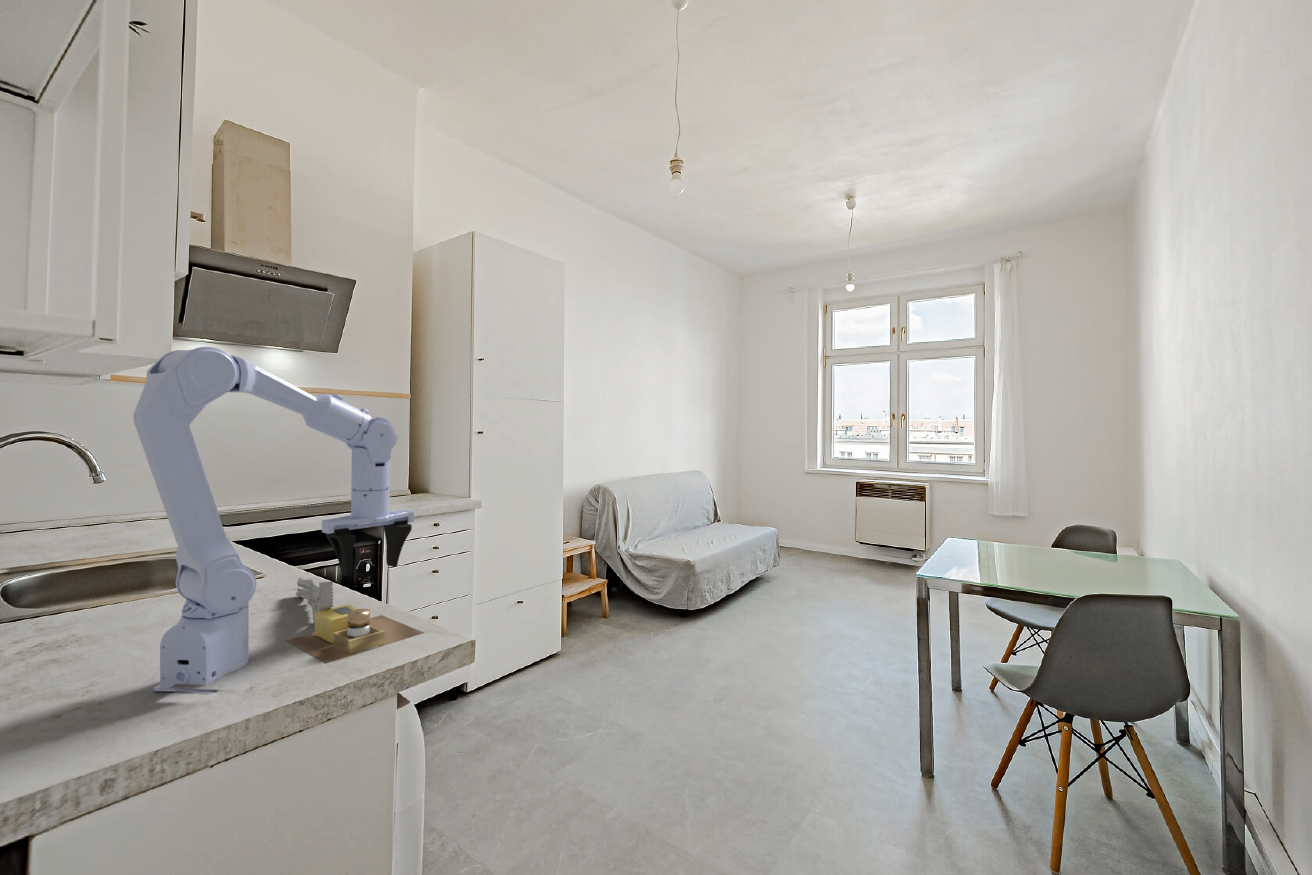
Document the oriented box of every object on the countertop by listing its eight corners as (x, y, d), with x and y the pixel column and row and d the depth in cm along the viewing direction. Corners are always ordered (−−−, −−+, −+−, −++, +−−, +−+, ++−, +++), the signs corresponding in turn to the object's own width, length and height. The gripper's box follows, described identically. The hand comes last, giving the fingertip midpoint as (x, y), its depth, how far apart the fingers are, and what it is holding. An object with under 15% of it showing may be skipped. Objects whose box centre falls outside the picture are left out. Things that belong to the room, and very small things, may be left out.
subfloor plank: (325, 671, 80) (325, 648, 80) (285, 648, 88) (285, 627, 88) (424, 639, 92) (424, 620, 92) (381, 621, 100) (381, 603, 100)
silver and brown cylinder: (363, 648, 85) (363, 615, 85) (343, 648, 85) (343, 614, 85) (373, 641, 88) (373, 608, 88) (353, 640, 88) (354, 608, 88)
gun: (320, 632, 89) (319, 581, 90) (295, 617, 112) (294, 576, 113) (334, 629, 90) (333, 579, 91) (306, 615, 114) (306, 575, 115)
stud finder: (331, 643, 87) (331, 619, 87) (314, 634, 90) (314, 611, 90) (364, 633, 91) (364, 610, 91) (347, 625, 94) (347, 603, 94)
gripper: (337, 495, 88) (336, 583, 88) (424, 487, 99) (423, 565, 100) (315, 491, 92) (315, 575, 92) (401, 484, 104) (401, 559, 104)
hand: (370, 570), depth 96 cm, fingers open, 7 cm apart
